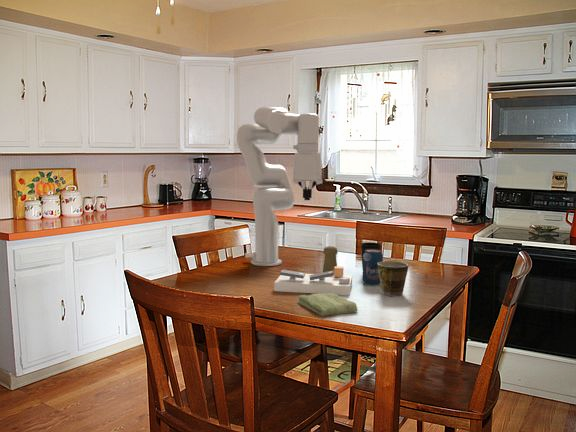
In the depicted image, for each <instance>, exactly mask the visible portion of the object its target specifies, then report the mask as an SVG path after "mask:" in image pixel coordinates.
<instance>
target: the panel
mask: <svg viewBox="0 0 576 432" xmlns="http://www.w3.org/2000/svg"><path fill="white" fill-rule="evenodd" d="M313 274H314V273H305V277H304V278H303V279H302V278H296V277H290V276H283V275H280V274H279V276H278V278H277V279H276V280H274V283H273V284H274V285H273V286H274V287H273V289H274V292H281V293H282V292H284V293H301V294H303V293H304V294H321V293H323V294H328V293H333V294H336V295H338V296H341V295H342V296H350V293H351V291H352V287H353V286H352V285H353V275H343V277H334V276H331V277H326V278H320V279H315V280H310V276H311V275H313Z"/></svg>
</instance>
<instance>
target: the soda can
mask: <svg viewBox="0 0 576 432" xmlns="http://www.w3.org/2000/svg"><path fill="white" fill-rule="evenodd" d="M383 261H384V255H383V253H382V249H381V250H378V249H366V250H365V252H364V254H363V268H362V281H363V283H364V285H366V286H371V287H372V286H373V287H374V286H381V285H380V277H379V272H378V263H379V262H383Z"/></svg>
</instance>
